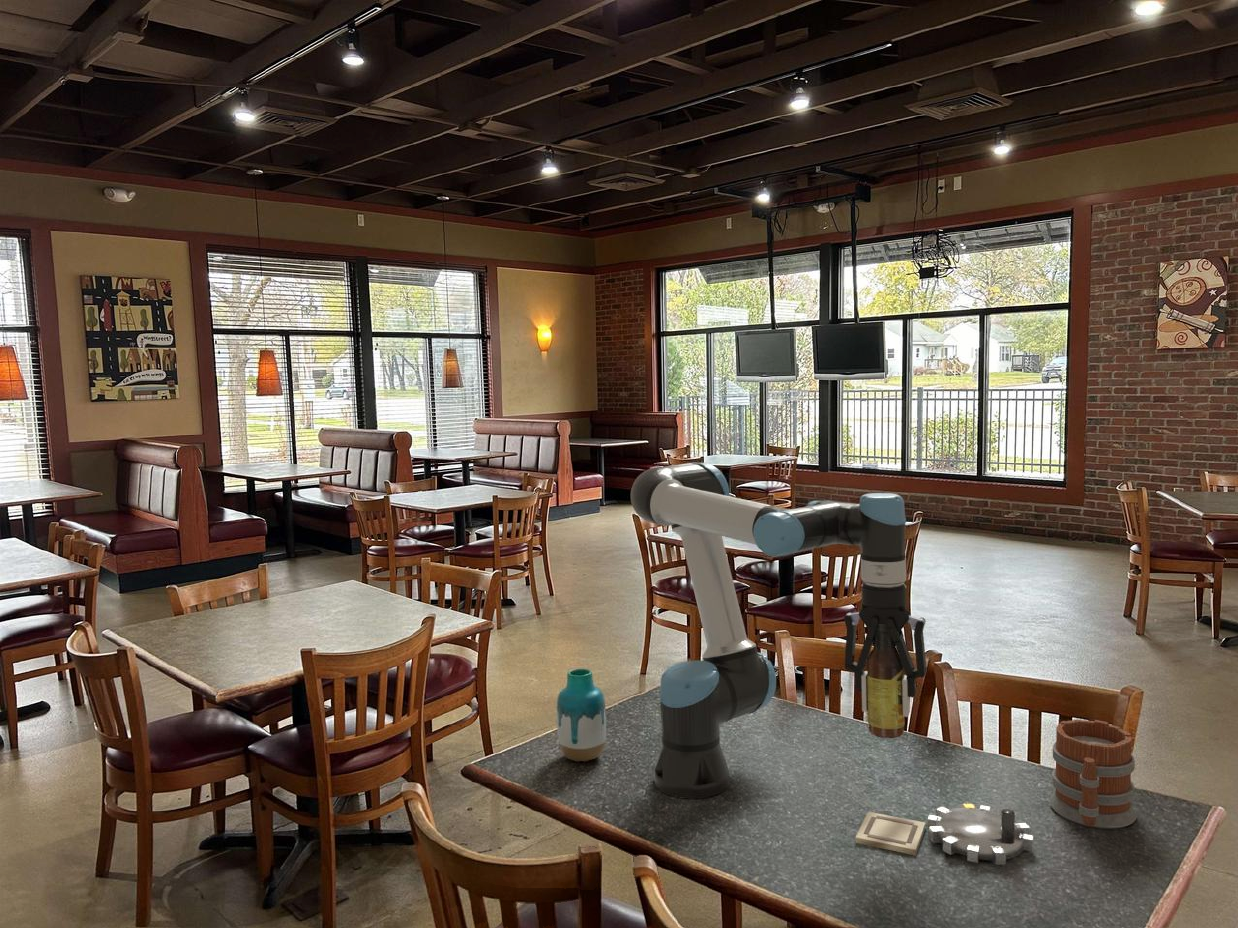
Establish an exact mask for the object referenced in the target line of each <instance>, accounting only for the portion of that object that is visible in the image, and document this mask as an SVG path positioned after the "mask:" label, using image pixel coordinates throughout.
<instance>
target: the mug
mask: <svg viewBox="0 0 1238 928" xmlns="http://www.w3.org/2000/svg"><path fill="white" fill-rule="evenodd" d="M1055 728H1056V730H1055V732H1056V733H1055V737H1056V739H1055V741H1054V743H1053V744H1052V759H1053V761H1055V768H1054V769H1053V771H1052V773H1051V774H1052V780H1051V781H1052V782H1051V783H1052V785H1053V787H1054V791H1053V793H1052V794H1051V796H1050V797H1049V802H1048V803H1049V805H1050V807H1051V809H1053V810H1054V811H1055V812H1056V813H1057V814H1058V815H1059V816H1061V817H1062V818H1063V819H1066V820H1068V821H1069V822H1072V823H1074V824H1077V825H1081V826H1084V827H1089V828H1095V829H1104V830H1105V829H1106V830H1115V829H1122V828H1125V827H1128V826H1130V825H1132V824H1133V823H1134V822H1136V819H1137V816H1138V815H1137V813H1136V811H1135V809H1134V807H1133V806H1132V803H1131V801H1133V799H1134V797H1135V785H1134V782H1133V781H1132V773H1133V772H1134V771H1135V768H1136V767H1135V764H1136V762H1135V761H1136V758H1135V755H1134V754H1133V752H1132V735H1131V733H1130V732H1128V731H1126V730H1124V729H1123V728H1121V727H1120V726H1117V725H1112V724H1110V722H1107V721H1104V720H1103V721H1102V720H1097V719H1094V721H1093V720H1087V719H1086V720H1084V719H1083V720H1082V719H1073V720H1067V721H1066V720H1063V721H1060V722H1059V723H1058V724H1057V726H1056V727H1055Z"/></svg>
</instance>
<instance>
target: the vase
mask: <svg viewBox="0 0 1238 928" xmlns="http://www.w3.org/2000/svg"><path fill="white" fill-rule="evenodd" d="M566 674H567V675H566V687H564V688H563V689H561V691H559V692H558V693H559V694H558V696H557V700H556V725H557V726H556V729H557V731H556V732H557V737H558V738H557V739H558V744H559V745H558V746H559V748H560V750H561V753H562V755H564V757H566V758H567V759H569V760H570V759H571V761H573V760H574V762H579V761H583V762H590V761H592V759H593V760H596V759H597V758H598V757H599V756H601V754H602V753H603V752H604V749H605V747H606V743H607V711H606V701H605V696H604V693H603V692H602V689H600V688H599V687H597V686H595V684H594V679H593V671H592V670H591V669H588V668H582V667H581V668H579V667H578V668H573V669H570V670H569V671H568V672H567V673H566ZM589 760H590V761H589Z"/></svg>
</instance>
